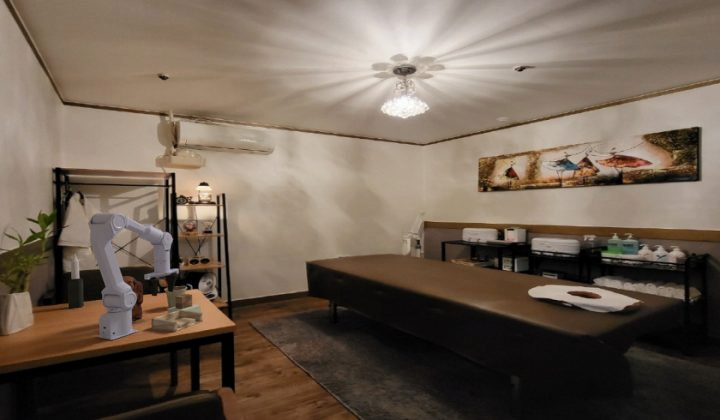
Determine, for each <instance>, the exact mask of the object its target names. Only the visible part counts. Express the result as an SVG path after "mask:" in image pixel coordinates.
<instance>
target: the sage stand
mask: <svg viewBox="0 0 720 420" xmlns="http://www.w3.org/2000/svg"><path fill="white" fill-rule="evenodd" d="M178 310H185V311H193V312H201V304H200V305H199V304H193V303H192V306H191V307H188V308H185V309H178V308H176V307H172V308H169V307H168V308H167V314H169V313H172V312H175V311H178ZM201 313H202V312H201Z"/></svg>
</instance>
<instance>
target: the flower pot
mask: <svg viewBox="0 0 720 420" xmlns="http://www.w3.org/2000/svg"><path fill="white" fill-rule="evenodd" d="M187 289H188V287H187V286H185V285H180V286H177V285H176V286H174V290H173V292H168V287H166V288H164V289H163V290H164V291H165V294H166V299H167V305H168V306H167V307H168V309H169V308H172V307H176V298H175V296H179V295H183V294H186V292H187Z"/></svg>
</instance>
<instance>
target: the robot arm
mask: <svg viewBox="0 0 720 420" xmlns="http://www.w3.org/2000/svg"><path fill="white" fill-rule="evenodd" d="M87 224H88V228H89V232H90V234H89V235H90V236H89V242H90V247H91V248H92V251H93V254H94V258H95V260H96V263H97V265H98V269H99V271H100V274H101V277H102V280H103V282H104V283H103V284H104V286H105V287H104V288H103V289H102V290H101V293H100V294H101V295H102V298H101V302H102V303H101V304H102V305H103V307H104V308H105V309H106V311H107V312H105V313H103V314H101V315H100V316H99V319H98V325H99V327H98V330H99V331H98V332H99V333H98V334H99V335H98V337H97V338H99V339H106V340H110V341H113V340H117V339H119V338H123V337H125V336H128V335H132V334H134V333H137V332H138V329H134V328H133V321H132V308H133V306H134V305H135V303H136V300H137V297H136V294H135V293H134V292H133V291H132V289H131V287H130V286H129V285H128V284H126V283H125V282H124V281H123V278H122V277H123V275H122V272H121V269H120V266H119V263H118V260H117V257H116V253H115V251H114V248H113V245H112V241H113V240H114V239H115V238H116V237H117V235H118V234H120V233H121V232H122V231H123V230H124V229H125V230H128V231H130V232H133V233H136V234H137V236H138V237H139V238H140V239H143V240H144V241H147V242H149V243H150V244H151V246H153V265H154V266H153V269H154V271H153V272H149V273H145V274H143V275H144V282H145V283H146V284H147V286H148V288H149V290H150V293H151V296H152V297H157V296H158V287H159V286H158V285H159V282H160V279H158V278H160V277H165V278H166V283H167V288H168V292H173V290H174V287H175V285H176V282H177V280H178V278H179V275H180V274H179V273H180V271H179V268H171V263H170V262H171V259H170V254H171V253H170V251H171V247H172V244H173V240H174V238H173V237H172V234H170V233H169V232H168V231H162V229H160V228H156V227H154V225H153V224H151V223H149V224H144V225H143V224H142V223H141V224H140V223H139V222H137V221H135V220H133V219H132V218H130V217H128V215H126V214H123V213H121V212H114V213H113V212H112V213H109V212H107V213H105V212H104V213H102V212H97V213H95V214H92V216H91V218H90V219H89V221H88V222H87Z"/></svg>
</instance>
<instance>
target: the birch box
mask: <svg viewBox="0 0 720 420" xmlns="http://www.w3.org/2000/svg"><path fill="white" fill-rule="evenodd" d="M150 320H151V321H150V322H151V323H150V324H151V329H154V330H160V331H166V332H172V333H176V332H178V331H181V330H183V329H186V328H189V327H192V326H194V325H197V324H200V323H201V322H203V312H193V311H185V310H178V311H175V312H172V313H169V314H168V313H166V314H163V315H159V316H156V317H153V318H151V319H150ZM199 322H200V323H199Z"/></svg>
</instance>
